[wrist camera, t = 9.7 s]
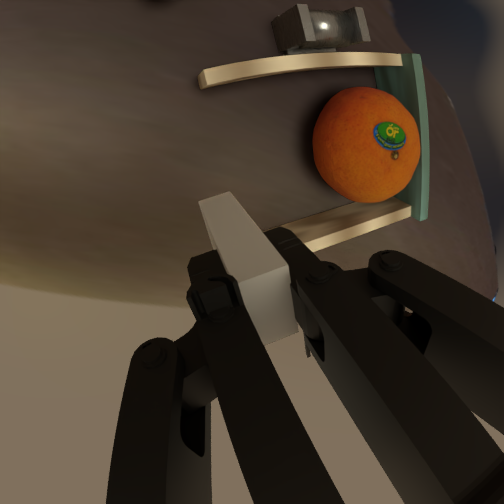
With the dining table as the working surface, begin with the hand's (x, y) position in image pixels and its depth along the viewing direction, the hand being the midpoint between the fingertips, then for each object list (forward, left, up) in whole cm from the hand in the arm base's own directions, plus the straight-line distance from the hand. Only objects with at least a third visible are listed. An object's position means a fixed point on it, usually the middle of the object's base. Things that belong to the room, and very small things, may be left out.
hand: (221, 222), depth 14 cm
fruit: (+15, -1, -13) cm, 20 cm away
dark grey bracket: (+13, +10, -13) cm, 21 cm away
